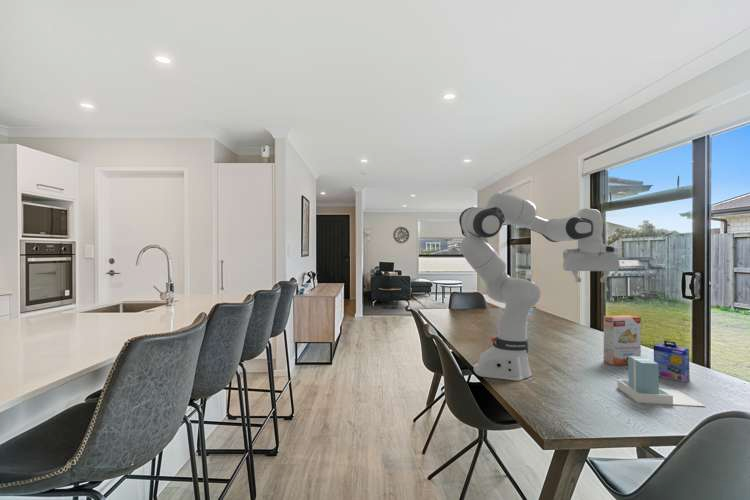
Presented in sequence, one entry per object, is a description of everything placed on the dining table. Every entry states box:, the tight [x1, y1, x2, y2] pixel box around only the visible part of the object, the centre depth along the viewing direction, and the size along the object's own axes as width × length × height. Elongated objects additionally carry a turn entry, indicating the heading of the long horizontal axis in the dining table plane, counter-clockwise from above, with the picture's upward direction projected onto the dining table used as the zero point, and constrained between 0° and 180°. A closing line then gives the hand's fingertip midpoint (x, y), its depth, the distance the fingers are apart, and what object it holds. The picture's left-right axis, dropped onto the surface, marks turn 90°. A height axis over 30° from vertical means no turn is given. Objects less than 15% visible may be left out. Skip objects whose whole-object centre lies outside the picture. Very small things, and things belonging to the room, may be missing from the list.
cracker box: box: [603, 314, 642, 366], centre depth 152 cm, size 14×6×21 cm, turn 99°
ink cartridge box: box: [653, 339, 691, 383], centre depth 134 cm, size 10×6×14 cm, turn 34°
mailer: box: [616, 378, 706, 408], centre depth 116 cm, size 19×13×3 cm
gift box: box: [627, 356, 660, 394], centre depth 117 cm, size 5×8×12 cm, turn 170°
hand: (590, 282), depth 141 cm, fingers open, 8 cm apart
